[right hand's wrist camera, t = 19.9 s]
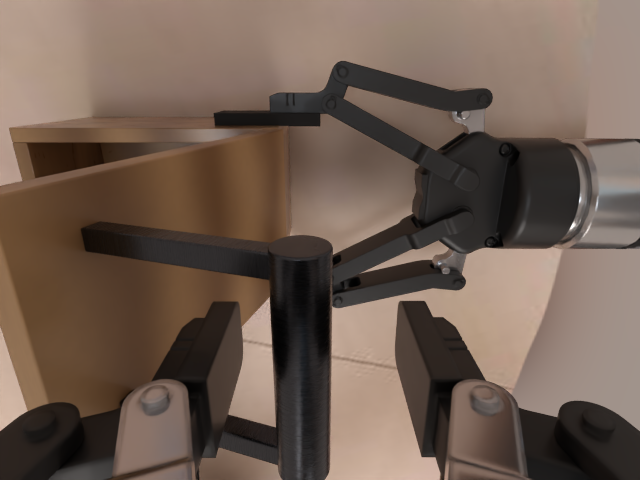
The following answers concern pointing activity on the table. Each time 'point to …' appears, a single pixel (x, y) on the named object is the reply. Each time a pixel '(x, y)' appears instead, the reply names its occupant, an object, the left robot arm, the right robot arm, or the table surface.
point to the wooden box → (120, 143)
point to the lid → (168, 284)
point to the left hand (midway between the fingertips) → (225, 193)
